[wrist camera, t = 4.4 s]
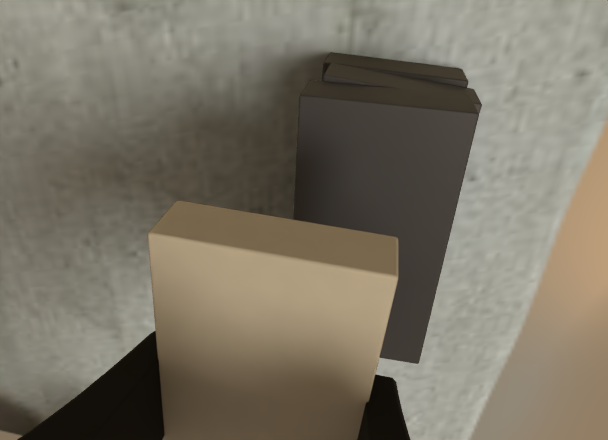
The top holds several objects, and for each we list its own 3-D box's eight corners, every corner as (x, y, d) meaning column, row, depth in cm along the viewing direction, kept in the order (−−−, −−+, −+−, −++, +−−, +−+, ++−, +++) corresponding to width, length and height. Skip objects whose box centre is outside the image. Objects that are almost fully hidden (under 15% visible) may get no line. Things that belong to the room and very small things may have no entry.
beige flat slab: (339, 496, 14) (333, 547, 13) (187, 462, 14) (169, 509, 13) (398, 236, 10) (399, 277, 8) (176, 198, 10) (146, 232, 9)
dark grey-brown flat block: (417, 330, 19) (418, 364, 17) (296, 311, 19) (286, 343, 18) (470, 95, 14) (479, 113, 13) (309, 79, 15) (299, 94, 13)
